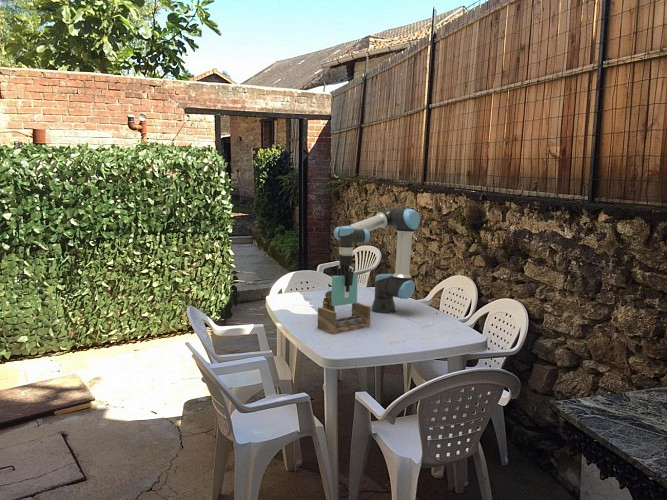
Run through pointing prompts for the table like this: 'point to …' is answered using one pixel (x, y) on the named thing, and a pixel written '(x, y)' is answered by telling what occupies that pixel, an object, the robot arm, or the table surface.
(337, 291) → the door panel
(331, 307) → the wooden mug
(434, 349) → the table surface
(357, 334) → the table surface
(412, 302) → the table surface
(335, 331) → the wooden rack
